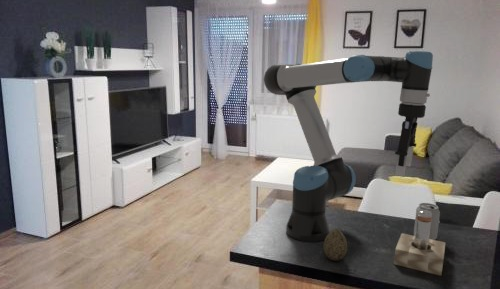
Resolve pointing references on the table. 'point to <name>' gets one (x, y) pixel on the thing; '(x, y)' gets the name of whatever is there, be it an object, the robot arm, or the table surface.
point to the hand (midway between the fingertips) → (403, 170)
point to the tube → (422, 229)
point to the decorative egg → (335, 245)
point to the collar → (420, 255)
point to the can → (434, 219)
